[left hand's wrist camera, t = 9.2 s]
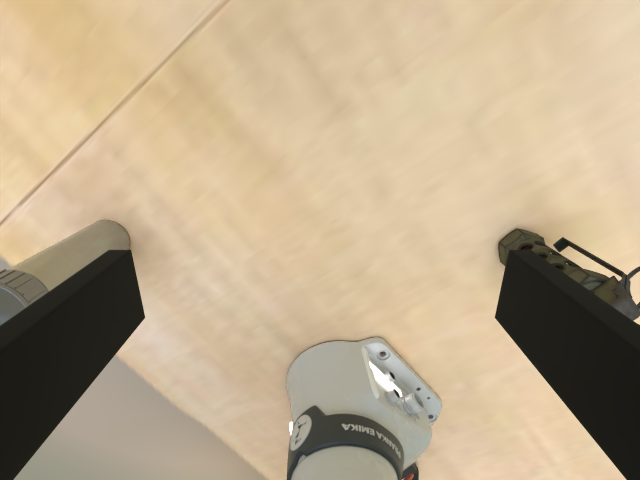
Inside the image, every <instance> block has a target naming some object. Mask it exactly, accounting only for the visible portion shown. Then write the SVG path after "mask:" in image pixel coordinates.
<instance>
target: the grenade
mask: <svg viewBox="0 0 640 480" xmlns="http://www.w3.org/2000/svg"><path fill="white" fill-rule="evenodd" d="M553 246H554V247H555V248H556V249H557V250H558V252H561V251H562V250H564V249H565V248H566V247H568V246H570V247H572V248H574V249H575V250H577V251H579V252H580V253H582V254H584V255H585V256H587V257H589V258H590V259H592V260H594V261H595V262H597V263H599V264H600V265H602V266H604V267H605V268H607V269H609V270H611V271H612V272H614V273H616V274H617V275H619V276H621V277H622V279H621V280H620V281H618V280H617V279H616V277H615V276H612V277H611V278H609V277H607V276H605V275H603V274H600V273H597V272H593V271H590V270H586V269H582V268H581V267H580V266H578V265H577V264H575V263H574V262H572V261H570V260H569V259H567V258H565V257H564V256H562V255H561V254H559V253H558V252H556V251H554V250H553V249H551V248H550V247H548V246H546V245H545V242H544V238H543V237H541V236H539V235H538V234H535V233H532V232H529V231H525V230H521V229H516V230H515V231H513V232H511V233H510V234H508V235H507V236H506V237H505V238H503V239H502V240H501V242H500V243H499V256H500V261H501V263H502V264H504V265H505V266H506V262H507V257H508V252H509V250H532V251H534V252H535V253H536V254H538V255H539V256H541V257H542V258H544V259H545V260H546V261H548V262H549V263H551V264H552V265H554V266H555V267H556V268H558V269H559V270H561V271H562V272H564V273H565V274H566V275H568V276H569V277H571V278H572V279H574V280H575V281H577V282H578V283H579V284H581V285H582V286H584V287H585V288H587V289H588V290H589V291H591V292H592V293H594V294H595V295H597V296H598V297H599V298H601V299H602V300H604V301H605V302H607V303H608V304H609V305H611V306H612V307H614V308H615V309H617V310H618V311H620V312H621V313H622V314H624V315H625V316H627V317H628V318H630V319H631V320H632V321H633V320H635V319H637V318H638V317H639V316H640V302H639V303H638V304H637V305H636V304H635V302H634V301H633V299H632V296H631V293H630V278H631V277H633V276H634V275H635V274H636V273H637V272H639V271H640V267H638V268H636V269H634V270H633V271H632V272H630V273H629V274H628V275H626V274H624V272H622V271H620V270H619V269H617V268H615V267H614V266H612V265H610V264H608V263H607V262H605V261H603V260H601V259H600V258H598V257H596V256H594V255H593V254H591V253H589V252H588V251H586V250H584V249H582V248H581V247H579V246H577V245H575V244H574V243H572V242H570V241H568V240H567V239H565V238H563V237H562V238H561V239H560V240H558V241H557V242H556V243H555V244H553ZM550 252H551V253H552V254H551V253H550ZM566 263H567V264H566Z"/></svg>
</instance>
